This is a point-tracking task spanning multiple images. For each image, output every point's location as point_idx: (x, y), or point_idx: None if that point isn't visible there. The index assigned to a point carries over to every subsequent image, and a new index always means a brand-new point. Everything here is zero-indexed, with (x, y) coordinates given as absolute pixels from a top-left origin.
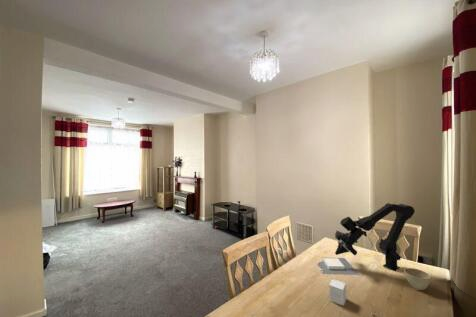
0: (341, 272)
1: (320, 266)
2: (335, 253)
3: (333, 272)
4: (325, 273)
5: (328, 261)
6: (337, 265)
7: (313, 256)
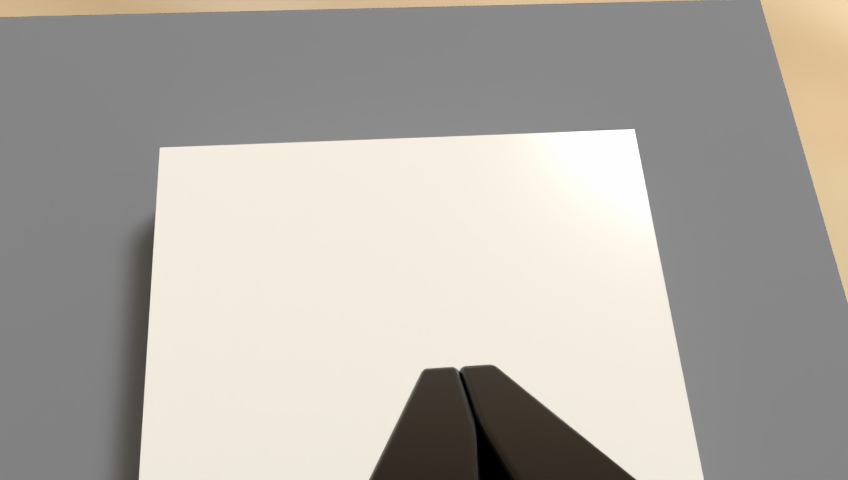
0: (22, 470)
1: (325, 46)
2: (426, 369)
3: (37, 256)
4: (2, 68)
5: (443, 216)
6: (200, 411)
7: (839, 32)
